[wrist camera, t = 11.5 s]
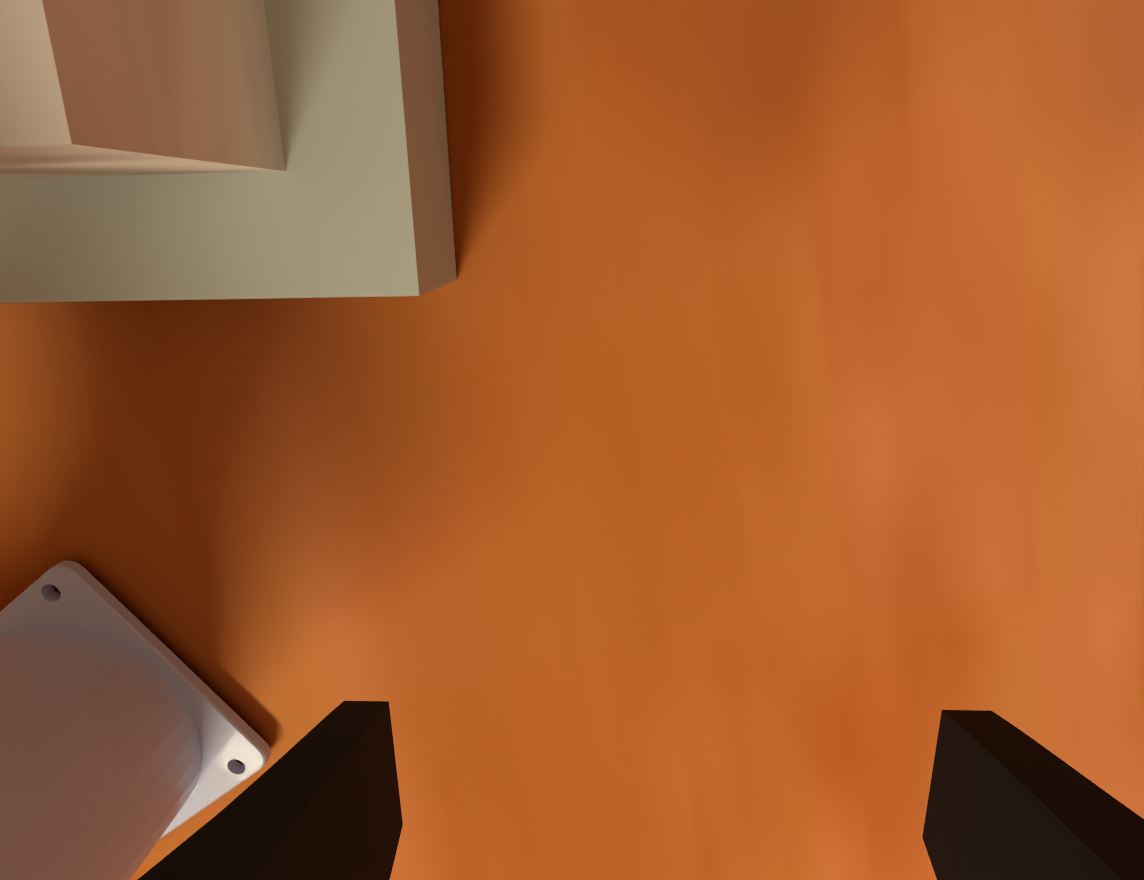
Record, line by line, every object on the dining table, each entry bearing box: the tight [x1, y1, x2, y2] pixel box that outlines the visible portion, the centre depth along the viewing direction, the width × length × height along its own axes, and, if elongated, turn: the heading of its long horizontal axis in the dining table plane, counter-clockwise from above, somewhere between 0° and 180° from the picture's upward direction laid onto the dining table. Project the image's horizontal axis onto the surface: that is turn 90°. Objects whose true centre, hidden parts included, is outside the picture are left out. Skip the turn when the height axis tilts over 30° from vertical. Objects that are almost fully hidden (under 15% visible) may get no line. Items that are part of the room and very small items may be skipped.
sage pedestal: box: [0, 0, 457, 303], centre depth 14 cm, size 10×10×4 cm
